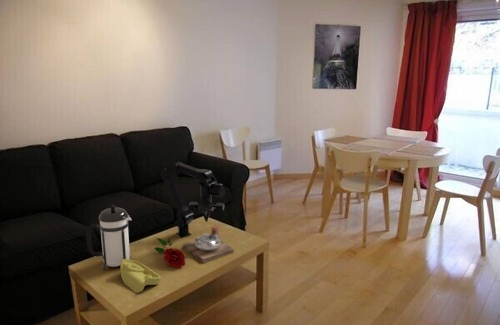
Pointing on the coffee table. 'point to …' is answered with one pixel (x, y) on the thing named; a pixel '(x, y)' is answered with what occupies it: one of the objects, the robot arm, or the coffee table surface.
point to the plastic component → (137, 275)
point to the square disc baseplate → (208, 255)
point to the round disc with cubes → (208, 241)
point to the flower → (171, 254)
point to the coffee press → (112, 236)
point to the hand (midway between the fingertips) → (206, 221)
